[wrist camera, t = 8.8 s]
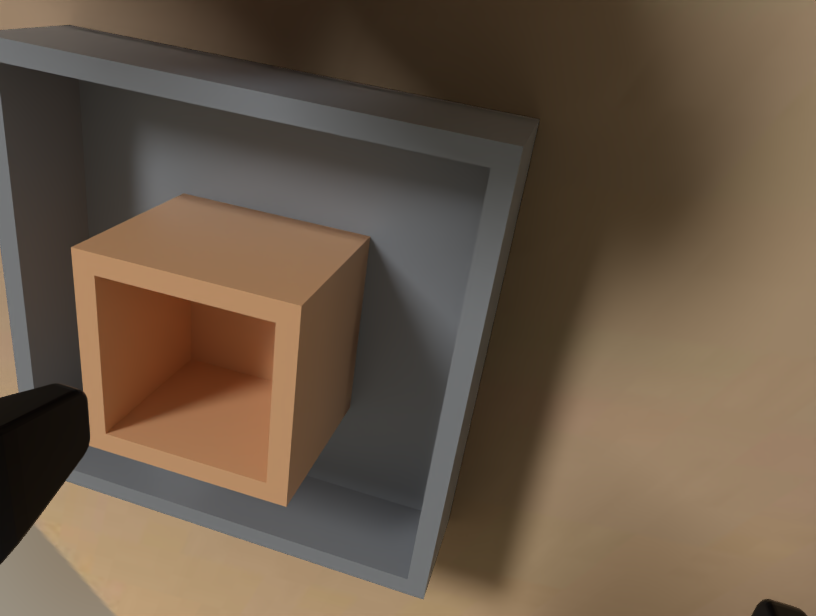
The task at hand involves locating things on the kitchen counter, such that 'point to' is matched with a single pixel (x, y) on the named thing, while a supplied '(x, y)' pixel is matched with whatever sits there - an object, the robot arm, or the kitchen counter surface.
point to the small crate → (219, 341)
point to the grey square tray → (290, 197)
